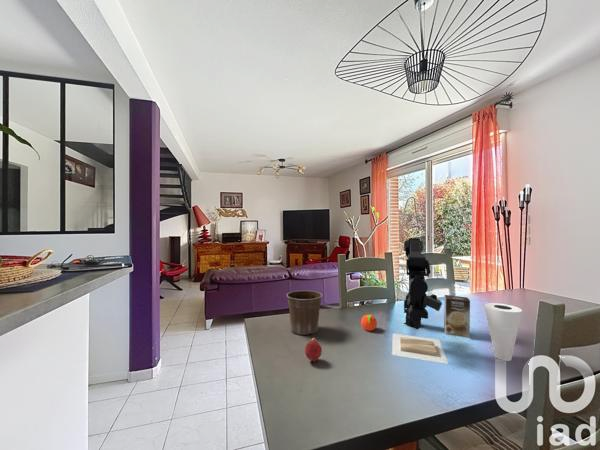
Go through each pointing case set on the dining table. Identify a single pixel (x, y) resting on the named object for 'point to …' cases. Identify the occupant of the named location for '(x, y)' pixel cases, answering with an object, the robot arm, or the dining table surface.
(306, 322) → the plant pot
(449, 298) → the coffee box
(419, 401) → the dining table surface
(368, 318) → the clementine
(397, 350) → the mat
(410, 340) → the tile
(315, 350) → the onion
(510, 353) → the cup
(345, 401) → the dining table surface
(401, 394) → the dining table surface
